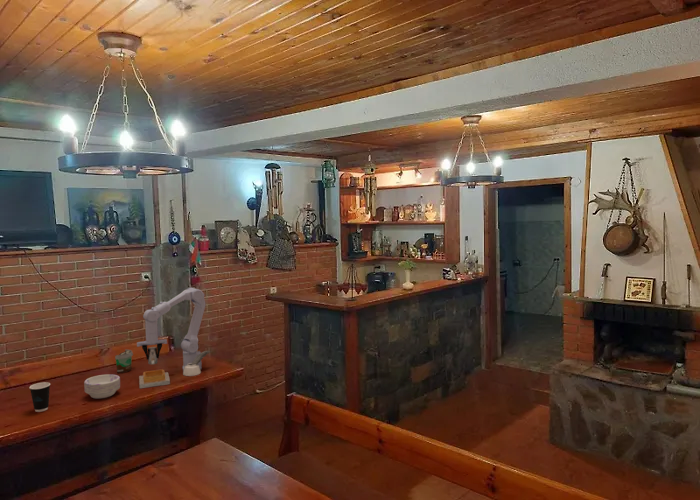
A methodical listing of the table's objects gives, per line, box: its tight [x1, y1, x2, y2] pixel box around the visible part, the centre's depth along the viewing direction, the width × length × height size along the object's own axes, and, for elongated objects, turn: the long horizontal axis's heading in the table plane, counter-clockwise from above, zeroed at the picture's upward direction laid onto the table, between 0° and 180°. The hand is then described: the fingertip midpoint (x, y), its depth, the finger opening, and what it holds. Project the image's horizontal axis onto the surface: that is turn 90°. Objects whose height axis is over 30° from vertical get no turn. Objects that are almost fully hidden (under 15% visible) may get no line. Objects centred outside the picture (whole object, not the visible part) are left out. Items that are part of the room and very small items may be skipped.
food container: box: [114, 348, 134, 374], centre depth 276 cm, size 12×6×10 cm, turn 179°
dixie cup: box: [29, 381, 51, 413], centre depth 222 cm, size 8×8×11 cm
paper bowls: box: [83, 373, 121, 400], centre depth 239 cm, size 15×15×8 cm
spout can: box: [147, 346, 158, 365], centre depth 263 cm, size 4×7×8 cm
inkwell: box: [182, 350, 212, 377], centre depth 273 cm, size 9×18×10 cm, turn 149°
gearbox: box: [138, 369, 171, 389], centre depth 257 cm, size 14×14×4 cm
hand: (152, 358), depth 264 cm, fingers closed on spout can, 4 cm apart
